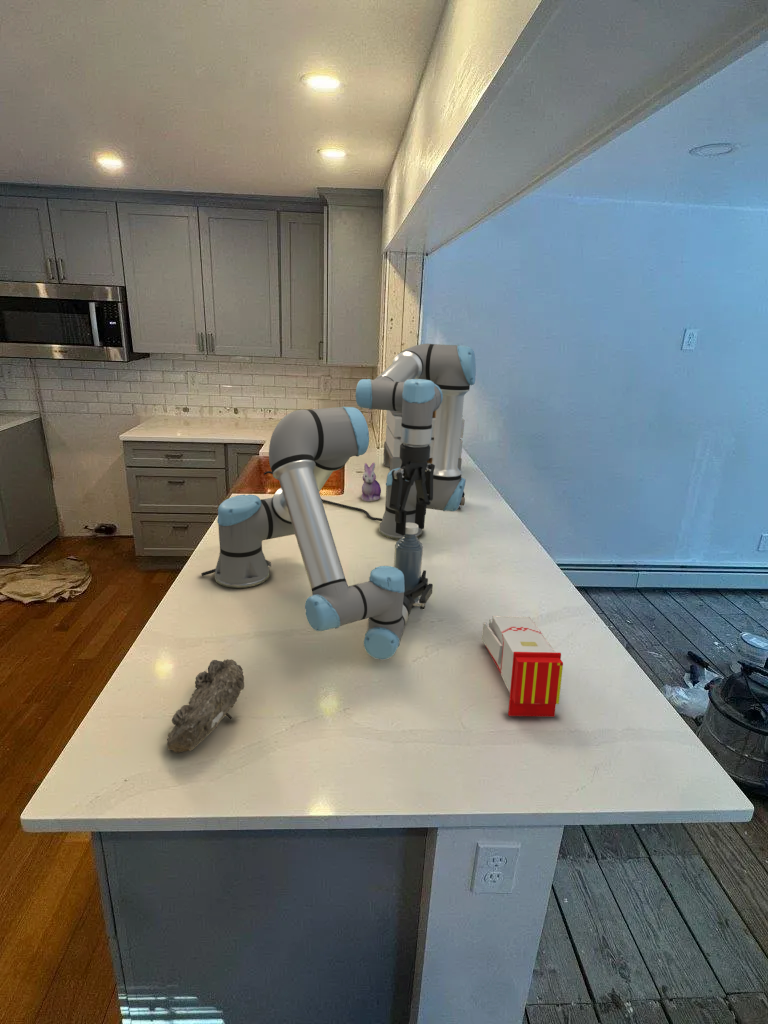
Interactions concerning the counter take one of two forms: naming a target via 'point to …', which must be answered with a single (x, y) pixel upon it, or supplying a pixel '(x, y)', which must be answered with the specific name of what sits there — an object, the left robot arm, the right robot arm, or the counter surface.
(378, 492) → the figurine
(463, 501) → the figurine character
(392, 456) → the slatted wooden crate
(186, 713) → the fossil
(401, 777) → the counter surface
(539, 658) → the toy
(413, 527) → the cap
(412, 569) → the bottle
